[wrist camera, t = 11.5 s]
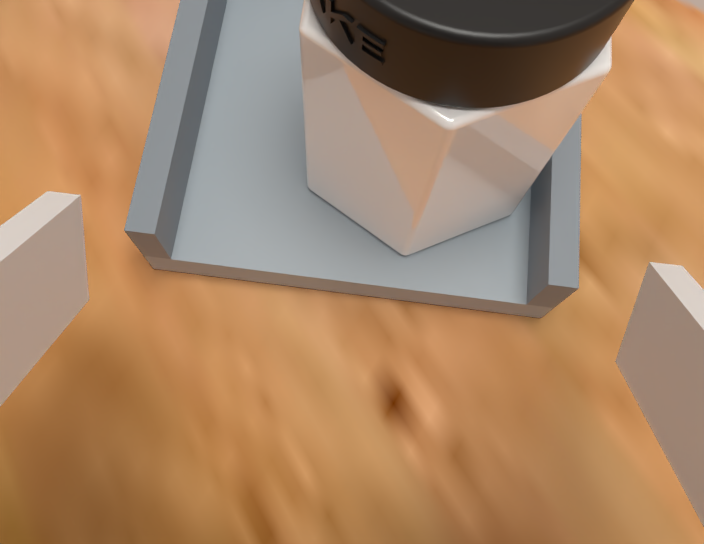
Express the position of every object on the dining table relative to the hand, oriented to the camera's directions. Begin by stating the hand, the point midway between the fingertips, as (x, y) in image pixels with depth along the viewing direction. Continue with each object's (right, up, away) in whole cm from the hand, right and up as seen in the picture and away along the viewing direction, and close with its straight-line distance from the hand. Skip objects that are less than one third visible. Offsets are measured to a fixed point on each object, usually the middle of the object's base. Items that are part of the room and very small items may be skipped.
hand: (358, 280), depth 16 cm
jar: (+2, +5, +11) cm, 12 cm away
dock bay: (+1, +6, +12) cm, 14 cm away
